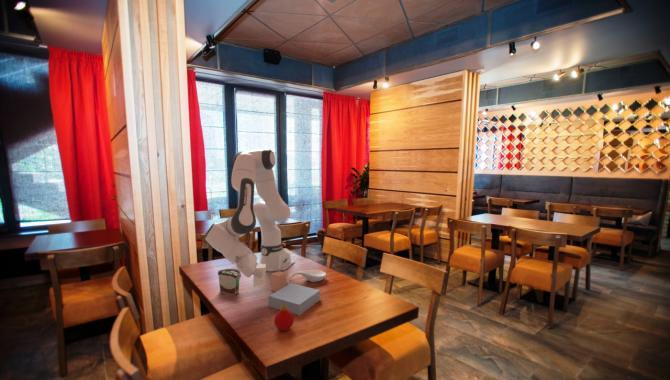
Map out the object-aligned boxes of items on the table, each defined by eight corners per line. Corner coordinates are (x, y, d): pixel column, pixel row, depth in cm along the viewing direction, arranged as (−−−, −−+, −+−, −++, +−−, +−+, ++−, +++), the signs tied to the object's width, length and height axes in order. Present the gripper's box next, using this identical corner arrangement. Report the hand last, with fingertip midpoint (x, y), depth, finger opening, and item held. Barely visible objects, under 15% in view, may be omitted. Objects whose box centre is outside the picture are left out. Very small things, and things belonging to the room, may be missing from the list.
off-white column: (254, 281, 134) (254, 264, 133) (266, 281, 135) (265, 263, 134) (253, 286, 129) (253, 268, 128) (265, 285, 130) (265, 267, 129)
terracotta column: (278, 286, 148) (278, 271, 147) (286, 288, 145) (286, 272, 145) (271, 290, 143) (271, 274, 143) (279, 292, 141) (279, 276, 140)
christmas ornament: (273, 325, 112) (273, 299, 111) (292, 323, 114) (292, 298, 113) (274, 335, 105) (274, 308, 104) (294, 333, 107) (294, 306, 106)
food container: (247, 291, 142) (246, 270, 141) (237, 296, 137) (237, 275, 136) (227, 286, 147) (227, 266, 146) (217, 291, 142) (217, 270, 141)
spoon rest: (317, 274, 165) (317, 261, 165) (330, 281, 156) (330, 267, 156) (279, 284, 151) (279, 271, 150) (291, 292, 141) (291, 278, 141)
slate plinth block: (291, 293, 141) (291, 283, 141) (320, 301, 134) (320, 290, 133) (268, 307, 127) (268, 296, 127) (299, 316, 120) (299, 304, 119)
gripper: (240, 255, 119) (265, 277, 122) (245, 242, 139) (266, 261, 142) (228, 267, 118) (254, 289, 121) (235, 252, 138) (257, 270, 141)
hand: (261, 273), depth 132 cm, fingers closed on off-white column, 5 cm apart
